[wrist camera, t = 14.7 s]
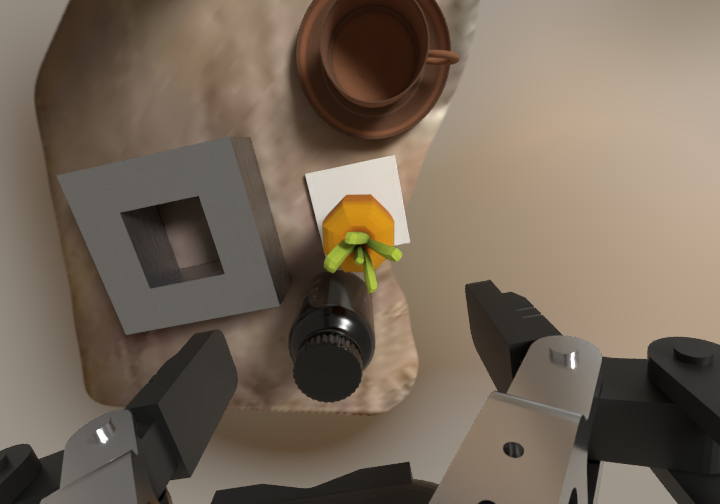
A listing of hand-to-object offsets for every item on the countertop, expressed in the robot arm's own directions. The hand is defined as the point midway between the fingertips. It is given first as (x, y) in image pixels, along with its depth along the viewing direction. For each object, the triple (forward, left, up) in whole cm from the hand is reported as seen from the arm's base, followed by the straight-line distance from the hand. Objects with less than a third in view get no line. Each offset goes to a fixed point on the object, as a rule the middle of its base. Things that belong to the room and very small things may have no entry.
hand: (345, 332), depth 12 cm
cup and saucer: (-12, +4, -23) cm, 26 cm away
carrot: (0, 0, -22) cm, 22 cm away
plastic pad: (0, 0, -23) cm, 23 cm away
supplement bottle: (+9, -4, -23) cm, 25 cm away
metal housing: (-1, -15, -23) cm, 27 cm away
